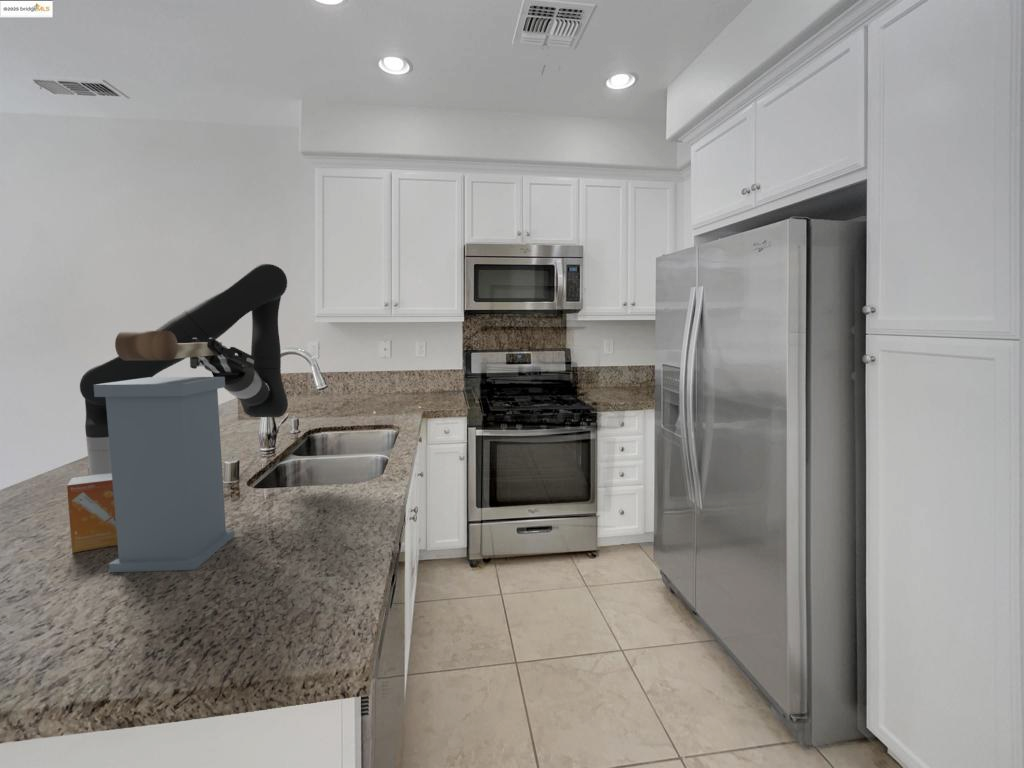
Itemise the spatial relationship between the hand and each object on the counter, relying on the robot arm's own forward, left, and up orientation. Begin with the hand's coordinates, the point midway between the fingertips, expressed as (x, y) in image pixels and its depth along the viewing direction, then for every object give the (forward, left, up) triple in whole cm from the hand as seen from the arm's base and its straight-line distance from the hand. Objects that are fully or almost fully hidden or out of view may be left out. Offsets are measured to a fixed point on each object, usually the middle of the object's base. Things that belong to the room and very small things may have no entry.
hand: (201, 341), depth 103 cm
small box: (-12, -14, -39) cm, 43 cm away
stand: (+6, -12, -39) cm, 41 cm away
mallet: (+3, -6, -3) cm, 8 cm away
